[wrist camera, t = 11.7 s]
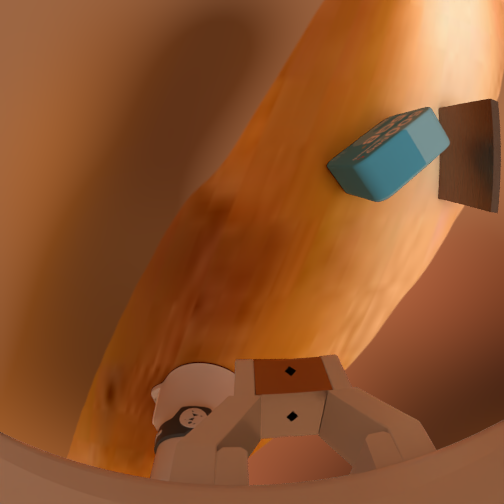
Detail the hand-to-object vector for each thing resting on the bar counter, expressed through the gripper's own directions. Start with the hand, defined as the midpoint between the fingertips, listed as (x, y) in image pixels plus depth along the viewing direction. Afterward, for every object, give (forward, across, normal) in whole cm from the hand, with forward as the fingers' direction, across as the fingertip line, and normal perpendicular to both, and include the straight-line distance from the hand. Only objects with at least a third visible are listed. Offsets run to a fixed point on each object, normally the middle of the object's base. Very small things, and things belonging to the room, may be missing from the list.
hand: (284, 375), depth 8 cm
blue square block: (+31, +15, +8) cm, 36 cm away
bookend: (+31, +30, +10) cm, 45 cm away
